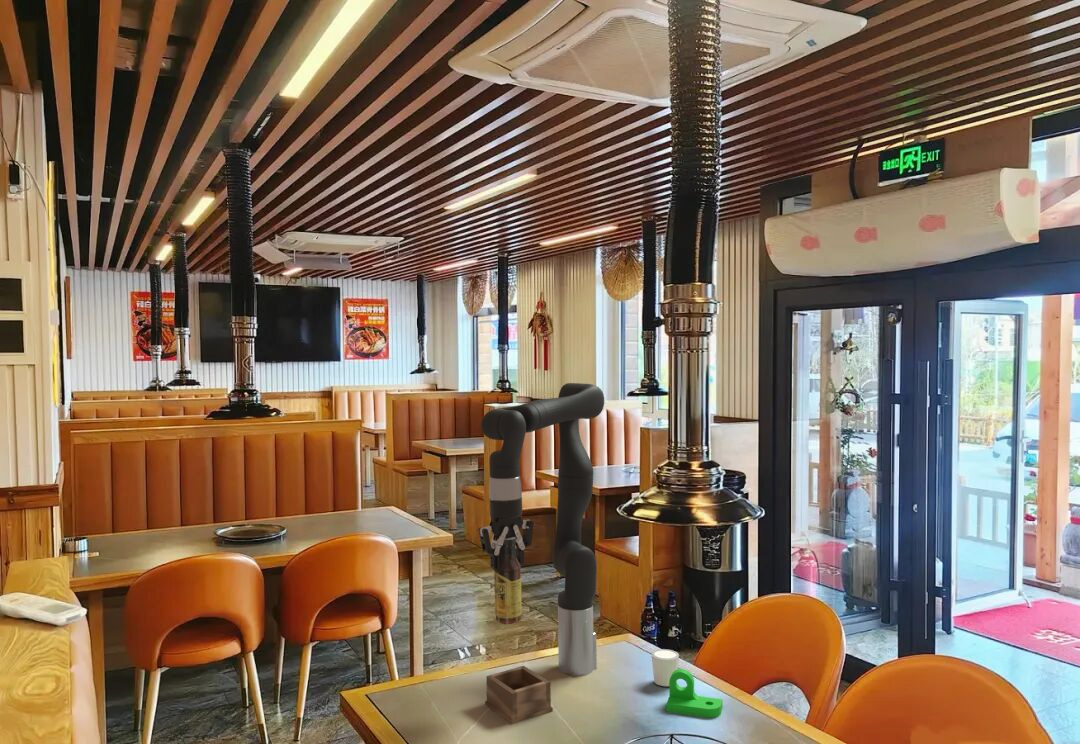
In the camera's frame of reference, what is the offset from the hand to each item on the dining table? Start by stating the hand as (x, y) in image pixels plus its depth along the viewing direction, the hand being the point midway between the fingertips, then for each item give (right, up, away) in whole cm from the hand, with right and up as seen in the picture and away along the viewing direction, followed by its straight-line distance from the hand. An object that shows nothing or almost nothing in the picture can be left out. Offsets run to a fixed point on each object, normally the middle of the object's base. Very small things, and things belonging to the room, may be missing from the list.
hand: (507, 567), depth 181 cm
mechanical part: (+43, -33, 0) cm, 55 cm away
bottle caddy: (+3, -33, +1) cm, 33 cm away
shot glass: (+39, -32, +14) cm, 53 cm away
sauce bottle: (0, -13, 0) cm, 13 cm away
